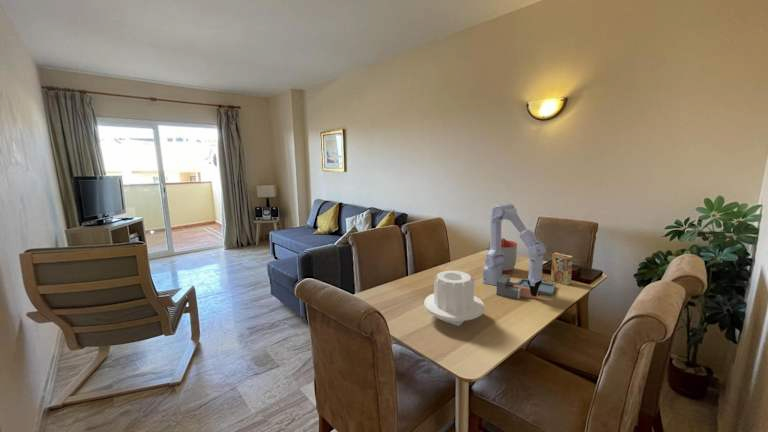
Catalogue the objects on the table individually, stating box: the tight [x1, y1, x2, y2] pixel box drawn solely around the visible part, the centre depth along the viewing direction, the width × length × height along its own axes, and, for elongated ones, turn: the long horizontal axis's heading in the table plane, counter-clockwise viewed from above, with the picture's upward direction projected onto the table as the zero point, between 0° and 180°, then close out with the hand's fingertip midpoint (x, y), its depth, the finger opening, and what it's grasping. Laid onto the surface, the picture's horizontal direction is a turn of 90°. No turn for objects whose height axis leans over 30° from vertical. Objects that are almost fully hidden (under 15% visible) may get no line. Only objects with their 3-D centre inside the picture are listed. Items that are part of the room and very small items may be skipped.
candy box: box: [550, 252, 574, 286], centre depth 167 cm, size 9×4×15 cm, turn 34°
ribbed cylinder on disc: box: [423, 269, 485, 327], centre depth 133 cm, size 25×25×19 cm
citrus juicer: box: [486, 237, 518, 274], centre depth 187 cm, size 16×17×20 cm
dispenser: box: [496, 274, 523, 300], centre depth 156 cm, size 10×10×7 cm
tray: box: [517, 277, 557, 297], centre depth 162 cm, size 17×13×2 cm
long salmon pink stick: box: [513, 285, 539, 300], centre depth 153 cm, size 11×1×4 cm, turn 55°
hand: (534, 295), depth 150 cm, fingers closed on long salmon pink stick, 1 cm apart
